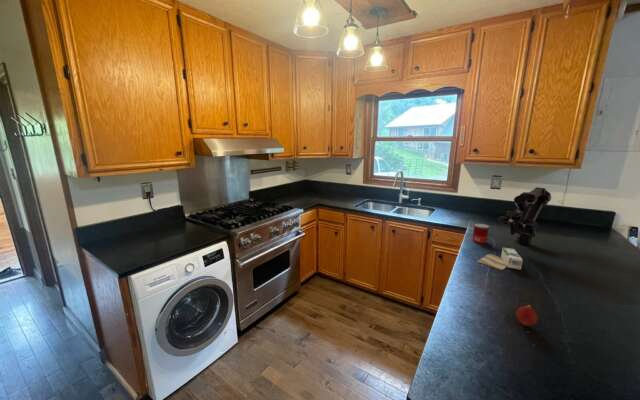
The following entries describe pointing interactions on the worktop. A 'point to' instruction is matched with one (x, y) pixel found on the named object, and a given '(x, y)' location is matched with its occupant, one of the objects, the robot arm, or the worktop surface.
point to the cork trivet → (493, 261)
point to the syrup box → (511, 258)
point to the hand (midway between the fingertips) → (511, 234)
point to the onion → (526, 315)
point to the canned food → (480, 233)
